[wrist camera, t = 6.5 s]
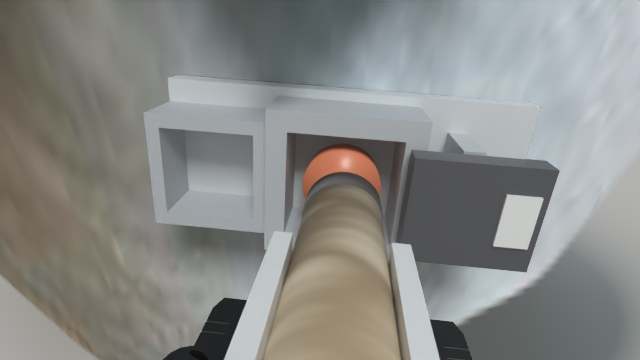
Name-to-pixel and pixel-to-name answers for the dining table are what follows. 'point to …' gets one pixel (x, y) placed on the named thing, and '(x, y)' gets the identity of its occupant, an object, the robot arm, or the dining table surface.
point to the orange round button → (341, 165)
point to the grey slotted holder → (304, 145)
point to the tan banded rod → (337, 279)
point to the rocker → (474, 209)
